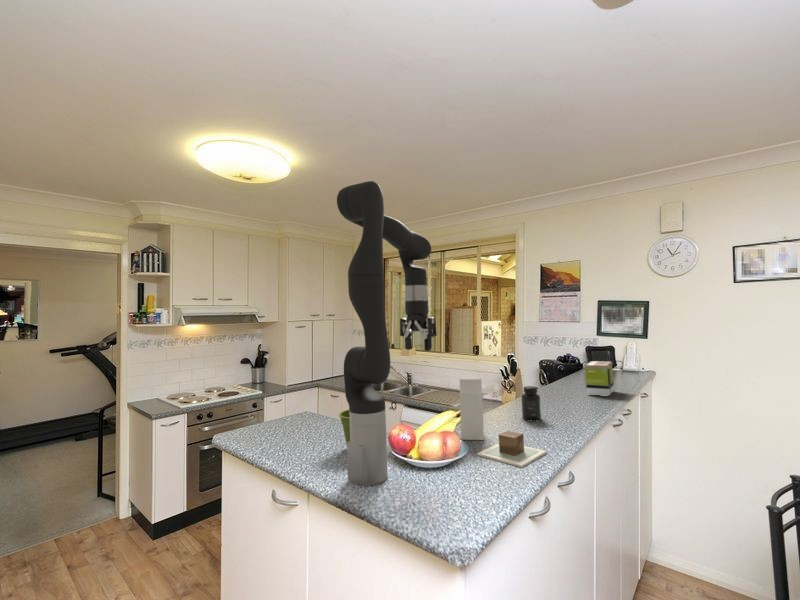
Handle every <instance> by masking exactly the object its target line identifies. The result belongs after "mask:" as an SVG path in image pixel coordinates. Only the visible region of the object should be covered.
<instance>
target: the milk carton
mask: <svg viewBox="0 0 800 600" xmlns="http://www.w3.org/2000/svg"><path fill="white" fill-rule="evenodd" d="M482 388H483V385H482V379H481V378H476V379H475V378H469V379H468V378H467V379H466V378H465V379H464V378H461V379H460V378H459V409H460V410H459V411H460V415H459V416H460V436H461V440H462V441H463V440H464V441H484V440H485V432H484V431H485V430H484V428H485V427H484V411H483V410H484V408H483V407H484V406H483V389H482Z"/></svg>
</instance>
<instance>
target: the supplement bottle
mask: <svg viewBox="0 0 800 600" xmlns="http://www.w3.org/2000/svg"><path fill="white" fill-rule="evenodd" d="M520 397H521V399H520V400H521V415H522V416H521V417H522V419H523V420H524V419H525V421H527V420H532V421H531V422H537V421H536V420H539V421H541V419H542V404H541V403H542V401H541V396H540V395H539V394H538V387H537V386H532V385H526V386H523V394H522V395H521V396H520Z"/></svg>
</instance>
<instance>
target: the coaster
mask: <svg viewBox="0 0 800 600" xmlns="http://www.w3.org/2000/svg"><path fill="white" fill-rule="evenodd" d="M547 452H548V451H546V450H543V449H538V448H534V447H530V446H526V445H524V452H522V453H520V454H518V455H516V456H513V455H509V454H505V453H501V452H499V443H497V444H495V445H493V446H490V447H488V448H486V449H484V450H481V451H480V452H479V451H478V452H477V453H476V455H477V456H479V457H481V458H486V459H490V460H494V461H496V462H500V463H504V464H508V465H511V466H514V467H519V468H523V467H525V466H527V465H529V464H531V463H533V462H534V461H536V460H537V459H539V458H541V457H543V456H544V455H545V456H546V454H547Z"/></svg>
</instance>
